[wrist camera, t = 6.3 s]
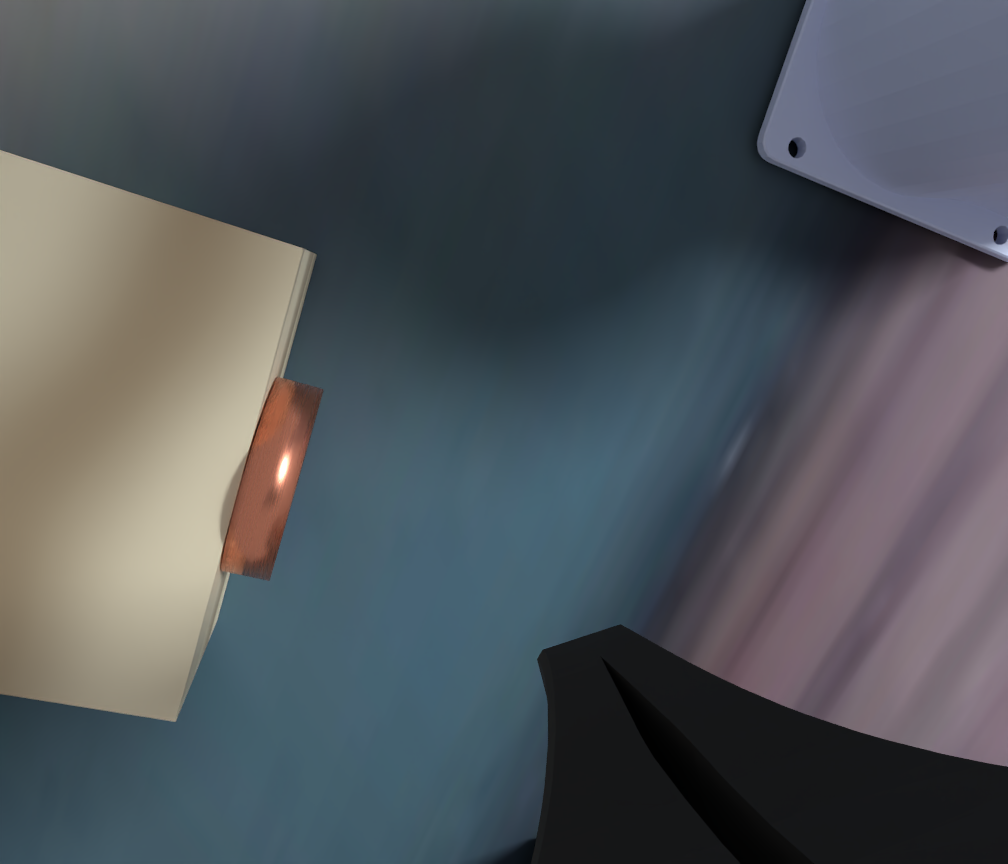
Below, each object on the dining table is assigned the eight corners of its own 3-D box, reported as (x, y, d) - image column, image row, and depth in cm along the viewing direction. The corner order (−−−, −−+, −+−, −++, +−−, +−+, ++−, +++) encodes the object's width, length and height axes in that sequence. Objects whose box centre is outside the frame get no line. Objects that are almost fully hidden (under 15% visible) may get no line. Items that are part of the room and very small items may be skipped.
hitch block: (316, 254, 18) (303, 248, 14) (216, 620, 19) (175, 721, 15) (54, 169, 17) (-58, 131, 12) (-33, 571, 18) (-160, 668, 14)
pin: (327, 376, 18) (317, 408, 14) (281, 539, 19) (259, 615, 15) (-242, 215, 15) (-469, 193, 11) (-273, 414, 16) (-500, 464, 12)
